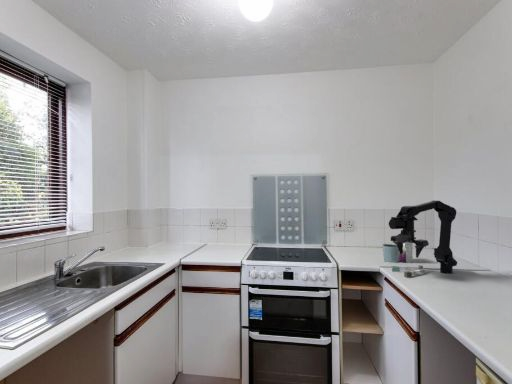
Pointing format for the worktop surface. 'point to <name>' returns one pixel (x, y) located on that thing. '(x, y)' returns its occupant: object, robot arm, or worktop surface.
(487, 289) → the worktop surface
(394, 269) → the hinged jaw
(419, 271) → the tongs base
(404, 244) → the candy bar box
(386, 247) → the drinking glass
